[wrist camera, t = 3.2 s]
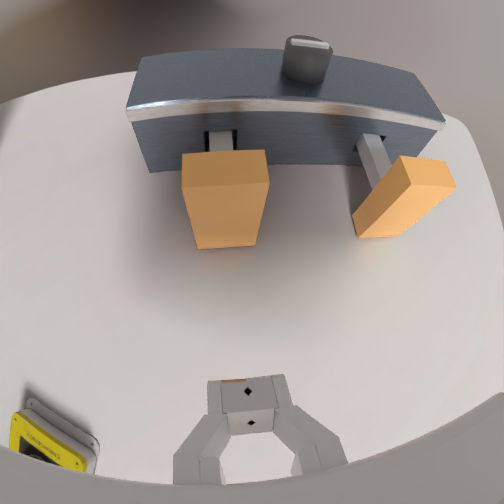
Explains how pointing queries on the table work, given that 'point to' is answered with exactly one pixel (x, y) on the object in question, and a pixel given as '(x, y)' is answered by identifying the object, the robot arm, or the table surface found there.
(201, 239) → the knob
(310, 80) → the dial
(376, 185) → the knob
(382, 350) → the table surface
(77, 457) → the emergency button
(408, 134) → the mount
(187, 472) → the robot arm
